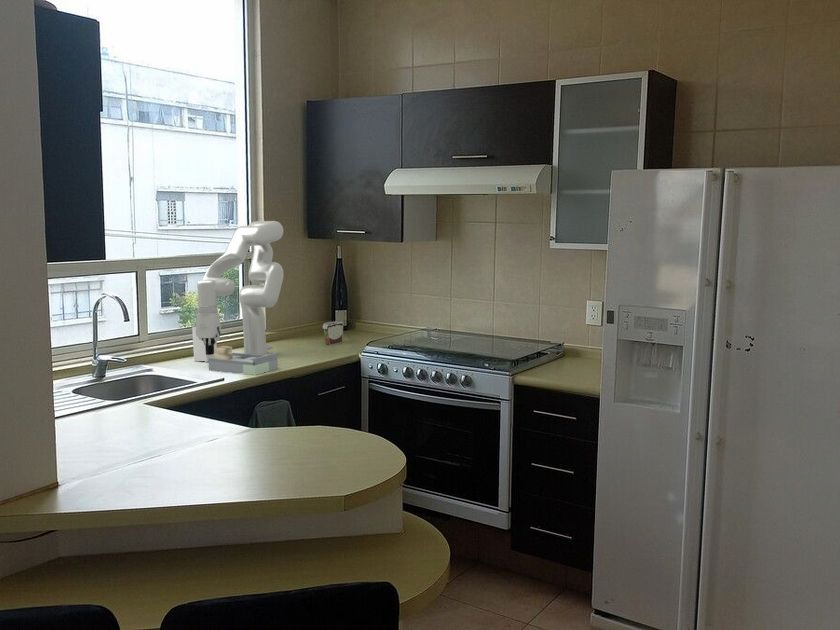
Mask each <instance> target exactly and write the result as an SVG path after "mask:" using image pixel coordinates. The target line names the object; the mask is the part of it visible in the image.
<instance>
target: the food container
mask: <svg viewBox="0 0 840 630" xmlns="http://www.w3.org/2000/svg"><path fill="white" fill-rule="evenodd" d="M344 326H345V324H344V321H328V322H324V323H323V325H322V329H323V332H324V339H325V340H324V341H325V345H326V346H334V345H338V344H343V342H344V341H343V339H344V338H343V337H344Z"/></svg>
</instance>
